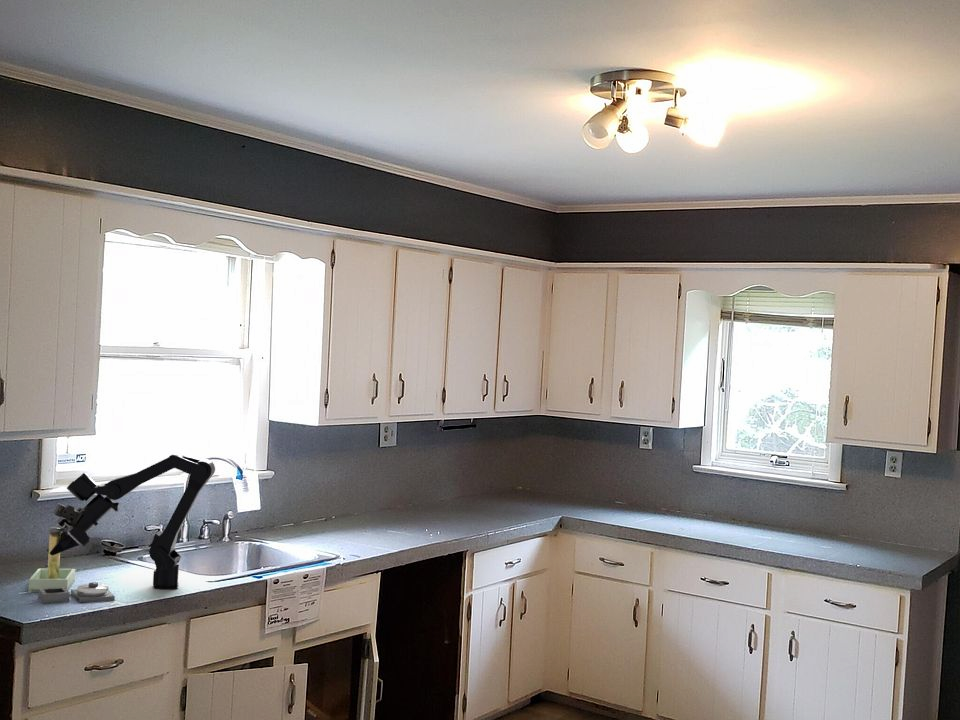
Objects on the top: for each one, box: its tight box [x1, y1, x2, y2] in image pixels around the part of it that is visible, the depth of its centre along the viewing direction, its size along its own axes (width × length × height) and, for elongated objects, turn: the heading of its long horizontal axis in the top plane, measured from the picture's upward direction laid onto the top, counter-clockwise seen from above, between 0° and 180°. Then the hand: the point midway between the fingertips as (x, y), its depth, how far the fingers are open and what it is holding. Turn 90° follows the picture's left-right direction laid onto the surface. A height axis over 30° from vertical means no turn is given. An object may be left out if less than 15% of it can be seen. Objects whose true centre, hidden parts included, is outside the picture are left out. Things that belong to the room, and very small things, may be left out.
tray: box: [27, 568, 76, 593], centre depth 281 cm, size 10×14×4 cm
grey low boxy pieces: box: [37, 581, 116, 605], centre depth 269 cm, size 18×11×4 cm, turn 124°
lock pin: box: [47, 526, 63, 579], centre depth 281 cm, size 4×4×15 cm
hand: (49, 553), depth 280 cm, fingers open, 3 cm apart
